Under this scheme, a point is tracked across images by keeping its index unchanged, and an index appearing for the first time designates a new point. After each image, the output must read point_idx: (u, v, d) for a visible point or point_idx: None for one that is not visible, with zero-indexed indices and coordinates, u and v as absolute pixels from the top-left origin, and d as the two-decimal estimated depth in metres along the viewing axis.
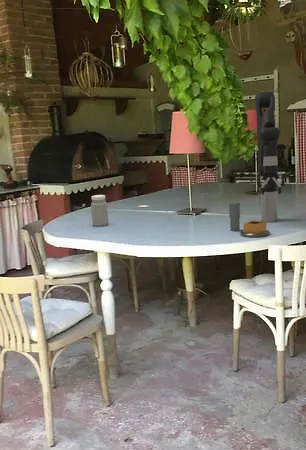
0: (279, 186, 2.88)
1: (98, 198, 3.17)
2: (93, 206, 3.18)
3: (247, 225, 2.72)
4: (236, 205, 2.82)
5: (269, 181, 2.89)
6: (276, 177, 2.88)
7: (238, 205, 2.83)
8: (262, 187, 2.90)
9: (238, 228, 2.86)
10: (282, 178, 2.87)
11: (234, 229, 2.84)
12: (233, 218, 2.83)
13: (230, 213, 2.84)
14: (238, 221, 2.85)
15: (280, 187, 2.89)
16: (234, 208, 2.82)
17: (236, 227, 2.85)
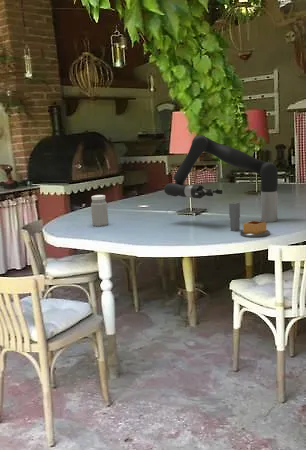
0: (206, 195, 2.90)
1: (98, 198, 3.17)
2: (93, 206, 3.18)
3: (247, 225, 2.72)
4: (236, 205, 2.82)
5: None
6: (200, 194, 2.94)
7: (238, 205, 2.83)
8: (216, 193, 2.96)
9: (238, 228, 2.86)
10: (198, 195, 2.92)
11: (234, 229, 2.84)
12: (233, 218, 2.83)
13: (230, 213, 2.84)
14: (238, 221, 2.85)
15: (206, 195, 2.89)
16: (234, 208, 2.82)
17: (236, 227, 2.85)
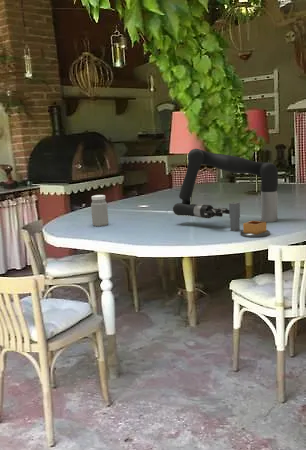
0: (215, 216, 2.88)
1: (98, 198, 3.17)
2: (93, 206, 3.18)
3: (247, 225, 2.72)
4: (236, 205, 2.82)
5: None
6: (210, 214, 2.93)
7: (238, 205, 2.83)
8: (225, 213, 2.95)
9: (238, 228, 2.86)
10: None
11: (234, 229, 2.84)
12: (233, 218, 2.83)
13: (230, 213, 2.84)
14: (238, 221, 2.85)
15: (215, 215, 2.88)
16: (234, 208, 2.82)
17: (236, 227, 2.85)
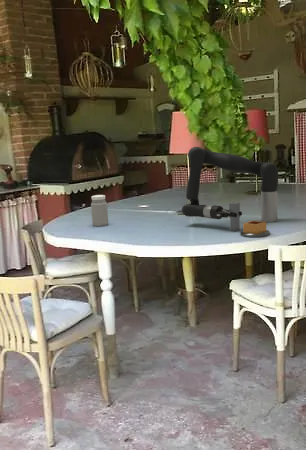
0: (229, 216, 2.84)
1: (98, 198, 3.17)
2: (93, 206, 3.18)
3: (247, 225, 2.72)
4: (236, 205, 2.82)
5: None
6: None
7: (238, 205, 2.83)
8: None
9: (238, 228, 2.86)
10: (220, 217, 2.85)
11: (234, 229, 2.84)
12: (233, 218, 2.83)
13: None
14: (238, 221, 2.85)
15: (230, 216, 2.83)
16: (234, 208, 2.82)
17: (236, 227, 2.85)
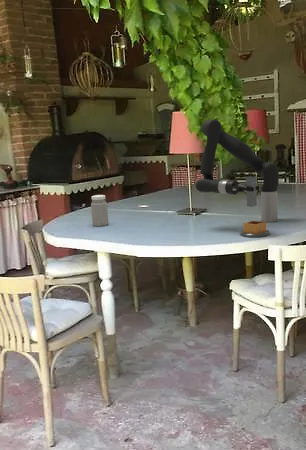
0: None
1: (98, 198, 3.17)
2: (93, 206, 3.18)
3: (247, 225, 2.72)
4: (253, 179, 2.68)
5: None
6: None
7: (255, 179, 2.69)
8: None
9: (255, 203, 2.72)
10: (236, 191, 2.71)
11: (251, 204, 2.70)
12: (250, 192, 2.70)
13: None
14: (255, 196, 2.71)
15: (246, 190, 2.69)
16: (251, 182, 2.68)
17: (253, 202, 2.71)
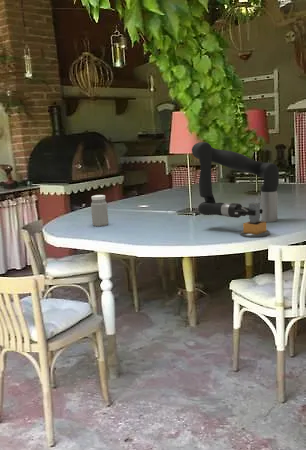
0: None
1: (98, 198, 3.17)
2: (93, 206, 3.18)
3: (247, 225, 2.72)
4: (256, 206, 2.69)
5: None
6: None
7: (258, 205, 2.71)
8: None
9: None
10: None
11: None
12: (253, 219, 2.71)
13: None
14: (258, 222, 2.73)
15: (248, 214, 2.70)
16: (254, 209, 2.69)
17: None
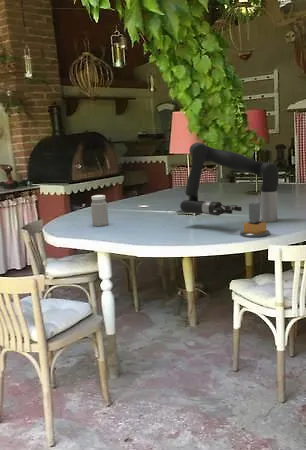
0: None
1: (98, 198, 3.17)
2: (93, 206, 3.18)
3: (247, 225, 2.72)
4: (256, 205, 2.69)
5: None
6: (219, 211, 2.84)
7: (258, 205, 2.71)
8: (235, 210, 2.86)
9: None
10: None
11: None
12: (253, 219, 2.71)
13: (250, 214, 2.72)
14: (258, 222, 2.73)
15: (225, 212, 2.79)
16: (254, 208, 2.69)
17: None
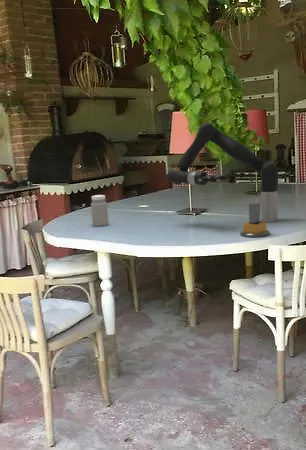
0: (209, 182, 2.83)
1: (98, 198, 3.17)
2: (93, 206, 3.18)
3: (247, 225, 2.72)
4: (256, 205, 2.69)
5: None
6: (204, 181, 2.87)
7: (258, 205, 2.71)
8: None
9: None
10: (201, 182, 2.85)
11: None
12: (253, 219, 2.71)
13: (250, 214, 2.72)
14: (258, 222, 2.73)
15: (210, 181, 2.82)
16: (254, 208, 2.69)
17: None
